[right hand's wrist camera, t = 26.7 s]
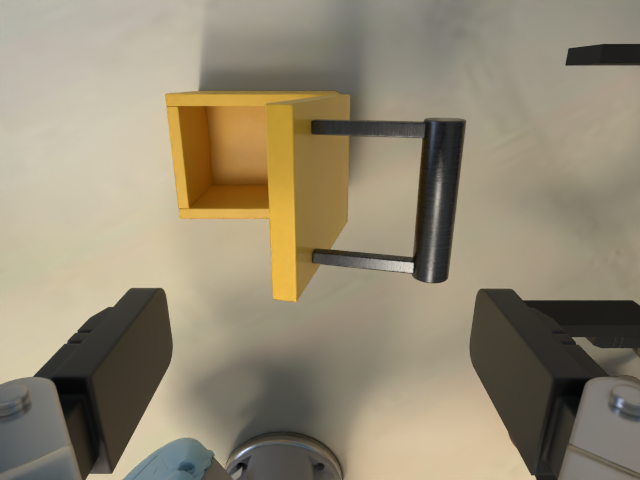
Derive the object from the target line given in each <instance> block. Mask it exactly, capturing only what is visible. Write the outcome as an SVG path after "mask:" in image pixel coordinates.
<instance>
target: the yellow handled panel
mask: <svg viewBox="0 0 640 480" xmlns="http://www.w3.org/2000/svg"><path fill="white" fill-rule="evenodd" d="M265 121H266V145H267V169H268V192H269V216H270V240H271V264H272V287H273V299H276V300H284V301H292V302H297V301H298V299H299V297H300V296H301V294H302V293H303V291H304V289H305V288H306V286H307V285H308V283H309V282H310V280H311V278H312V277H313V275H314V274H315V272H316V270H317V269H318V267H319V266H320V264H324V265H334V266H343V267H353V268H363V269H373V270H382V271H392V272H402V273H412V276H413V277H414V278H415V279H417V280H419V281H422V282H427V283H441V282H444V281H446V280H447V279H448V274H449V265H450V257H451V248H452V239H453V230H454V222H455V213H456V204H457V196H458V187H459V178H460V169H461V161H462V152H463V143H464V135H465V126H466V120H464V119H458V118H427V119H425V120H424V122H416V121H371V120H350V94H331V95H324V96H317V97H310V98H302V99H295V100H288V101H280V102H273V103H266V104H265ZM349 136H371V137H404V138H423V140H422V152H421V165H420V177H419V189H418V201H417V214H416V226H415V238H414V250H413V257H404V256H393V255H382V254H372V253H361V252H350V251H340V250H330V248H331V247H332V245H333V244H334V242H335V240H336V239H337V237H338V236H339V234H340V233H341V231H342V229H343V228H344V226H345V225H346V223H347V216H348V174H349Z"/></svg>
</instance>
